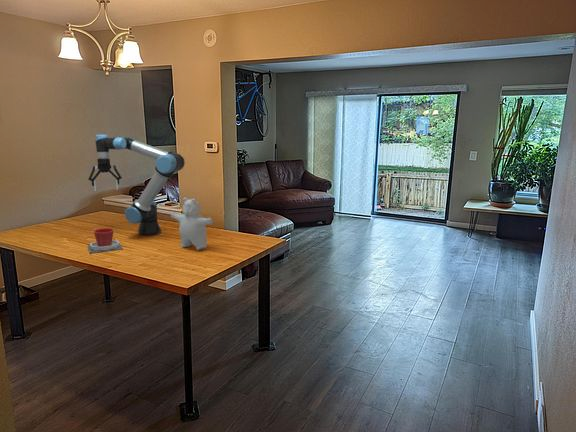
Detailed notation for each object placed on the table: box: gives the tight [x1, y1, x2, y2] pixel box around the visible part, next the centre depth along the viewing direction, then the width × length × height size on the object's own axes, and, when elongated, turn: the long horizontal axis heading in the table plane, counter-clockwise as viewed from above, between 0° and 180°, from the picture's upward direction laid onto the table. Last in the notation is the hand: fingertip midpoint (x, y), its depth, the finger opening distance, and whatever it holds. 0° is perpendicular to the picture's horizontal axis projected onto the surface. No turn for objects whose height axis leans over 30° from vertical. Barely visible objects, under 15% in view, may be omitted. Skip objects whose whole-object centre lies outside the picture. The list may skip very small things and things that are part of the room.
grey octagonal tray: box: [87, 239, 124, 254], centre depth 245 cm, size 18×18×3 cm
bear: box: [170, 197, 214, 251], centre depth 245 cm, size 35×14×32 cm, turn 60°
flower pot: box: [93, 228, 114, 247], centre depth 245 cm, size 11×11×10 cm
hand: (106, 190), depth 268 cm, fingers open, 13 cm apart
